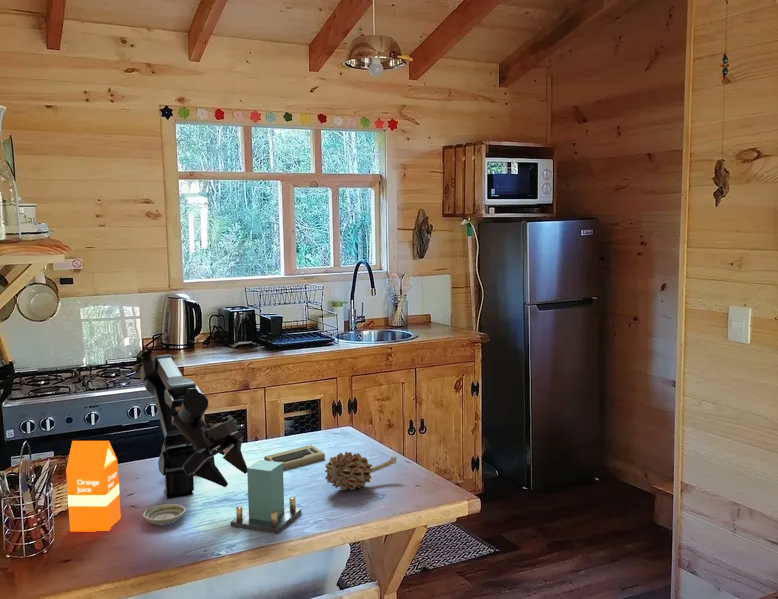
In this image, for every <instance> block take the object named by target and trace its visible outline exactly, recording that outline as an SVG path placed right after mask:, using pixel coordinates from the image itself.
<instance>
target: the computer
mask: <svg viewBox="0 0 778 599" xmlns="http://www.w3.org/2000/svg"><path fill="white" fill-rule="evenodd" d="M323 459H324V460H325V459H326V455H325V453H324V452H323V451H322V450H320V449H319V448H317V447H316V446H314V445H305V446H302V447H299V448H298V447H297V448H294V449H289V450H283V451H282V452H281V451H280V452H278V453H277V452H276V453H274V454H270V455H269V454H268V455H265V456H263V460H265V461H274V462H283V469H285V470H288V469H287V468H289V469H292V468H291V467H293V468H296V467H295V466H297V467H299V465H301V466H303V464H305V465H308V464H311V463H310V462H312V463H315V461H316V462H320V461H324V460H323ZM319 460H320V461H319ZM307 463H308V464H307Z"/></svg>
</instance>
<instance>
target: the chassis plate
mask: <svg viewBox="0 0 778 599" xmlns="http://www.w3.org/2000/svg"><path fill="white" fill-rule="evenodd" d="M296 500H297V499H296V497H295V496H290V497H289V506H285V505H284V512H283V513H282V514H281V515H280V516H278V517H277V512H276V511H273V512H271V521H264V520H257V519H250V518H249V508H247V509H246V510H245V511H243V506H241V505H240V506H236V508H235V510H236V511H235V514H236V516H235V518H233V520H231V521H230V527H231V528H235V529H241V528H242V529H243V530H249V531H256V532H261V533H262V532H263V533H267V534H269V533H270V534H274V535H278V534H279V533H280V532H282V531H283V530H284V529H286V527H287V526H288V525H290V524H291V523H292V522H294V520H296V519H297V518H298V517H299V516H300V515H301V514H302V508H301V507H297V506H296Z"/></svg>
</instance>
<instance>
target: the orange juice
mask: <svg viewBox="0 0 778 599" xmlns="http://www.w3.org/2000/svg"><path fill="white" fill-rule="evenodd" d="M67 460H68V461H67V465H66V469H65V474H66V485H67V486H66V487H67V488H66V489H67V506H68V518H69V531H70V533H71V532H76V533H77V532H86V533H87V532H89V533H90V532H93V533H94V532H96V531H108V532H109V531H110V530H111V529H112V528H113V527H114V526H115V525H116V524H117V523H118V522H119V520H121V518H122V517H121V503H120V501H121V500H120V497H121V496H120V493H121V492H120V482H119V467H118V466H119V465H118V464H119V463H118V458H117V456H116V453H115V452H114V449H113V447H112V445H111V442H110V440H72V441H71V446H70V451H69V454H68V459H67ZM115 523H116V524H115ZM114 524H115V525H114ZM113 525H114V526H113ZM112 526H113V527H112ZM111 527H112V528H111Z"/></svg>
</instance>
